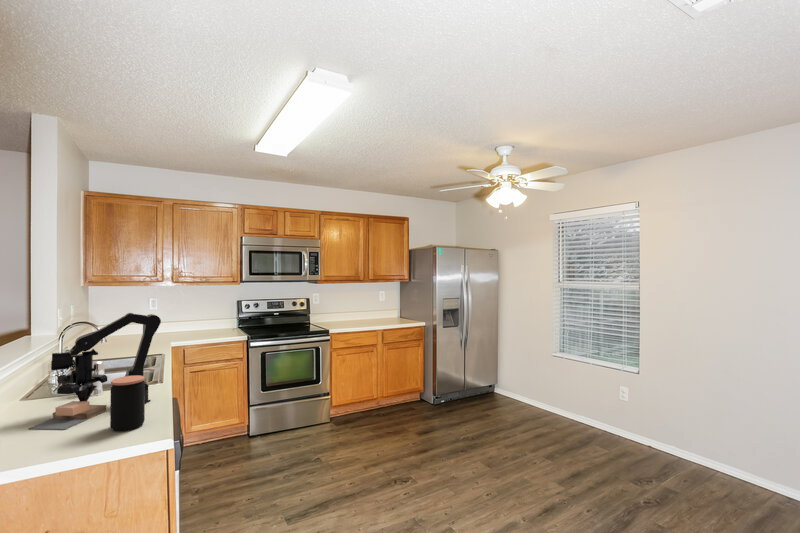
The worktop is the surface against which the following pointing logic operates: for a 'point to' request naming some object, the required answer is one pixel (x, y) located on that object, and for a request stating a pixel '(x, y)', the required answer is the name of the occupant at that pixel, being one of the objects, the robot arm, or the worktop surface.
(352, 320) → the worktop surface
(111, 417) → the coffee jar
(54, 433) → the worktop surface
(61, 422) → the charcoal mat
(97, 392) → the beer glass
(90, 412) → the walnut ledge
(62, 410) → the terracotta tile
